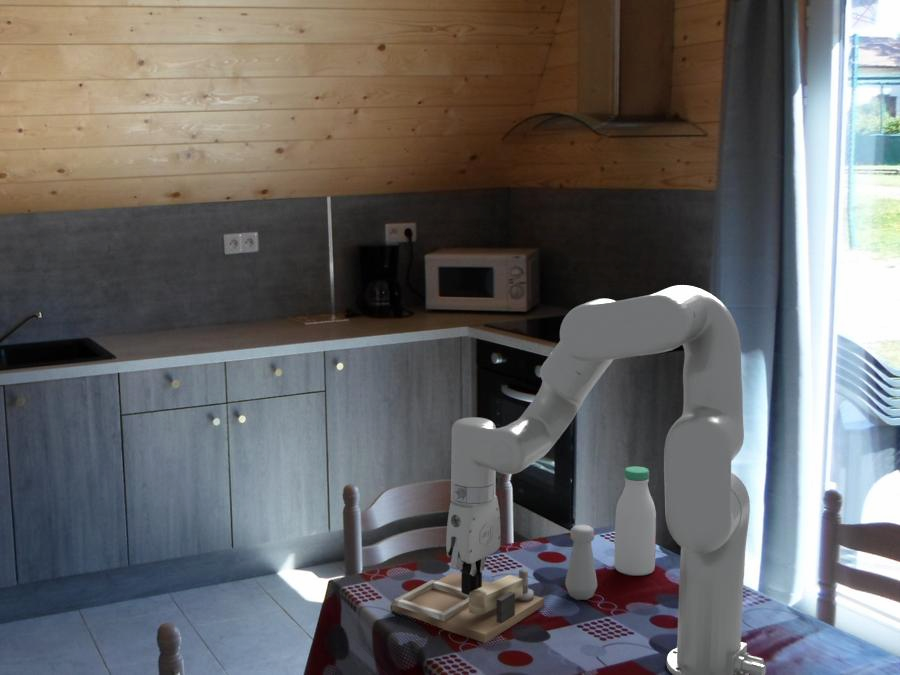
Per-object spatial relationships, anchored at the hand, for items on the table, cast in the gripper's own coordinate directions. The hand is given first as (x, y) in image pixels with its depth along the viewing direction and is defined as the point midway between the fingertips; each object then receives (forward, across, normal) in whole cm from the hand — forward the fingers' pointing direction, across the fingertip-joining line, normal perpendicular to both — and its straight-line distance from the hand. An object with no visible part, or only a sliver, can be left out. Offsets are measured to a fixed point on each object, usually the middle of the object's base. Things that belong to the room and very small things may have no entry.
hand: (471, 593), depth 182 cm
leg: (+2, +2, -3) cm, 4 cm away
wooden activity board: (+5, +3, +3) cm, 6 cm away
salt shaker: (+4, +20, -10) cm, 23 cm away
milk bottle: (+4, +37, -12) cm, 39 cm away
